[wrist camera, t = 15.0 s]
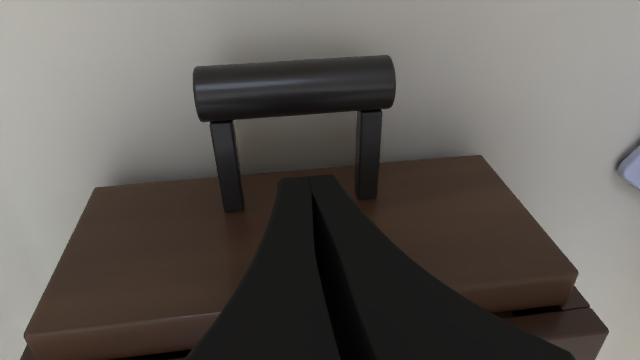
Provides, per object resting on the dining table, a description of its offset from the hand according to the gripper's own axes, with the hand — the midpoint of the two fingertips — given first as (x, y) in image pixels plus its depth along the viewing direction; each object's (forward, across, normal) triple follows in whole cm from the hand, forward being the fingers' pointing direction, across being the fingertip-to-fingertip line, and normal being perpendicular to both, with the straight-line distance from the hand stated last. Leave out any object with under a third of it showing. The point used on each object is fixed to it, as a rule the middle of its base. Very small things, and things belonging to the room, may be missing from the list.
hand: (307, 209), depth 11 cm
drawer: (+4, 0, +5) cm, 6 cm away
